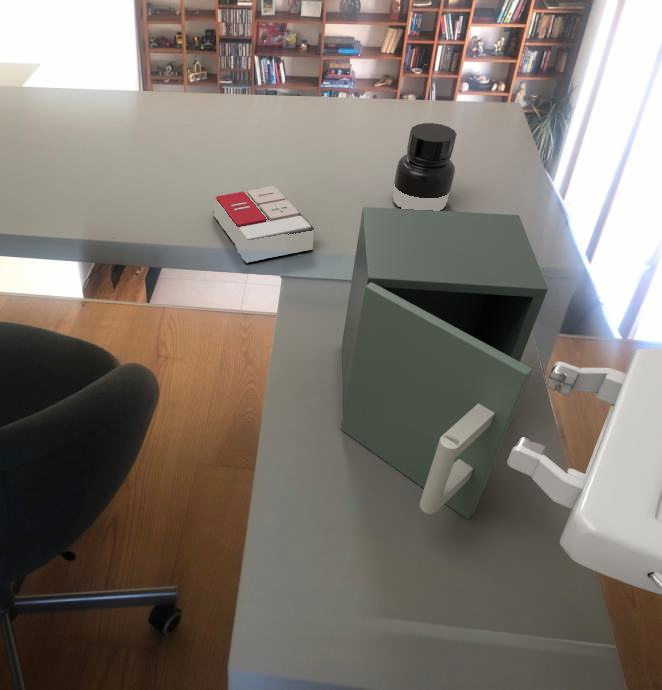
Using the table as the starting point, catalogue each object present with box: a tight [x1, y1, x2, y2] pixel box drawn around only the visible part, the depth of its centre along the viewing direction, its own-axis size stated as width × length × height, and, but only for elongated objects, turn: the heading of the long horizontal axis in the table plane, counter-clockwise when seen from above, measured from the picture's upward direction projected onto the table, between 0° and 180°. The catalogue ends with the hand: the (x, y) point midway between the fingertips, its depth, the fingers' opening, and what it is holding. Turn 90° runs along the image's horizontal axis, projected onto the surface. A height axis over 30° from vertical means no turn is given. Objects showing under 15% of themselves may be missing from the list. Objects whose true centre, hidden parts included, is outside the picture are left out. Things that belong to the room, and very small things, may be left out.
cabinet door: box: [340, 282, 533, 520], centre depth 64 cm, size 7×16×20 cm, turn 42°
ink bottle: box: [393, 122, 457, 198], centre depth 109 cm, size 10×9×12 cm
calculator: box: [215, 185, 315, 240], centre depth 106 cm, size 11×4×15 cm
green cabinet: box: [341, 206, 549, 414], centre depth 75 cm, size 13×16×20 cm
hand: (532, 409), depth 50 cm, fingers open, 8 cm apart
